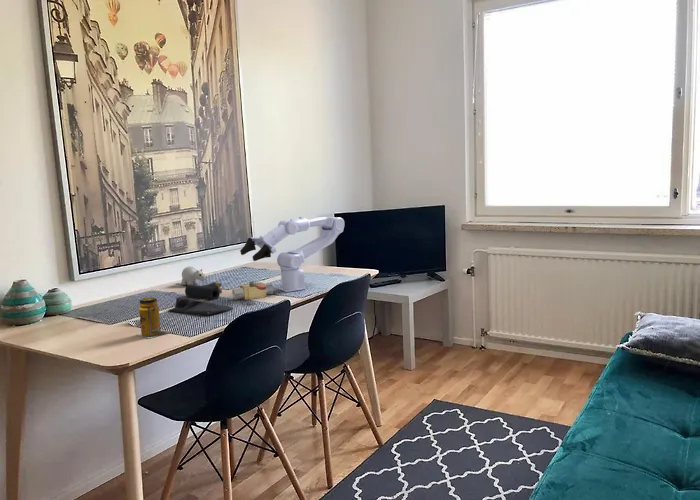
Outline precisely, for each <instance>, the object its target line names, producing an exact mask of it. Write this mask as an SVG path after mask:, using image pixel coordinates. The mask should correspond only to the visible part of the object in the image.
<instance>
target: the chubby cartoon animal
mask: <svg viewBox="0 0 700 500" xmlns="http://www.w3.org/2000/svg"><path fill="white" fill-rule="evenodd" d="M181 278H182V279H181V285H182V286H188V285H198V283H199V282H198V281H200V282H205V281H206V278H207V277H206V273H203V269H202V268H201V269H199V270H198V269H197V268H196V267H194V266H186V267H185V268H184V269H183V270H182V272H181Z"/></svg>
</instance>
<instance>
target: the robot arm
mask: <svg viewBox="0 0 700 500" xmlns="http://www.w3.org/2000/svg"><path fill="white" fill-rule="evenodd" d="M313 227H320V236H318V237H317V238H315V239H313V240H311V241H309V242H307V243H306V244H304V245H302V246H300V247H299V248H296V249H293V250H289V251H286V252H281V253H279V254H278V256H277V258H276V263H277V265H278V266H279V268H280V274H281V275H280V277H281V287H278V289H279V290H280V291H283V292H284V293H289V292H295V291H302V290H306V288H307V287H306V283H305V281H306V280H305V271H304V270H303V268H302V267H301V265H302V264H303V263H304V264H305V259H307V258H309V257H310V256H313V255H314V254H316V253H318V252H319V251H322V250H323V249H325V248H326V247H328V246H330V245H332V244H333V243H334V242H335V240H336V239H337V238H338V236H339V235H340V234H341V233H343V232H344V228H345V220H344V218H342V217H337V216H336V217H335V216H318V217H315V218H310V219H307V217H304V216H299V217H298V218H296V219H295V218H290V220H285V219H284V220H280V221H279V222H278V225H277V226H276V227H274V228H272V229H271V230H270V231H268V232H267V233H266V234H264V235H263V236H262V235H260V236H259V237H254V236H251V237H248V238H247V240H246V242H245V244H244V245H243V246H242V248H241V249H240V250H239V251H240V255H241V256H244V255H246V254H247V253H249V252H252V251H256V250H257V248H256V246H257V247H259V250H258V251H257V252H256V253H255V254H253V256H252V261H253V262H257V261H259V260H262V259H266V258H271V257H272V255H274V254H275V253H276V252H277V248H276V247H275V246H276V245H277V244H278V243H280V242H281V241H282V240H283V239H285V238H287V237H288V236H290V235H296V234H297V233H301V232H307V231H309V229H310V228H313Z"/></svg>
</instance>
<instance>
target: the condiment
mask: <svg viewBox="0 0 700 500" xmlns="http://www.w3.org/2000/svg"><path fill="white" fill-rule="evenodd" d="M138 310H139V311H138V312H139V320H140V321H139V322H140V332H141V333H139V334H137V336H138V337H141V338H145V339H153V338H157V337H159V336H162V335H166V334H168V333H170V331H167V330H164V329H161V319H160V307H159V306H158V302H157V297H151V296H150V297H143V298H141V299H139V308H138Z"/></svg>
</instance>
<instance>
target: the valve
mask: <svg viewBox="0 0 700 500" xmlns="http://www.w3.org/2000/svg"><path fill="white" fill-rule="evenodd" d="M256 283H258V284H262V285H264V286H266V290H259V289H257V288H256V287H254V286H252V285H249V284H239V287H237V288H233V289H232V291H231V293H232V294H231V295H232V298H233V300H235V301H237V300H242V299H243V300H253V299H261V298H265V297H266V298H267V296H270V295H273V294H274V287H273V284H272V283H267V284H266V283H264V282H261V281H258V282H257V281H256Z"/></svg>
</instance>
